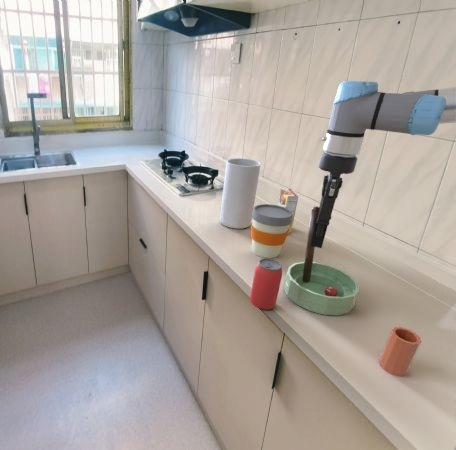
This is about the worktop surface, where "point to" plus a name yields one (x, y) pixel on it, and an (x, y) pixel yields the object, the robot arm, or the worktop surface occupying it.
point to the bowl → (321, 289)
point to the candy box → (288, 202)
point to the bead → (331, 291)
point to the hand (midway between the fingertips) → (316, 244)
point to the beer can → (266, 284)
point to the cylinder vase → (239, 192)
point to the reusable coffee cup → (269, 229)
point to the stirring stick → (310, 249)
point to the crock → (399, 351)
